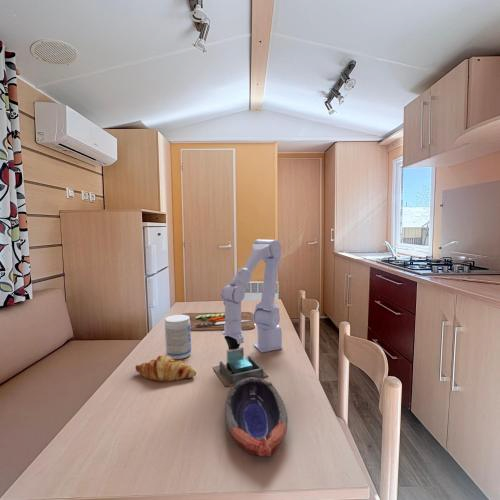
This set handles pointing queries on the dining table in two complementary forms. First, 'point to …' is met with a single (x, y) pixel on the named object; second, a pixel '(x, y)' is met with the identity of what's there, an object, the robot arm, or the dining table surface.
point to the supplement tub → (178, 336)
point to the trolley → (237, 361)
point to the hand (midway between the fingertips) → (233, 355)
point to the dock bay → (232, 379)
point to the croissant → (165, 369)
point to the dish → (256, 416)
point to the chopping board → (217, 321)
